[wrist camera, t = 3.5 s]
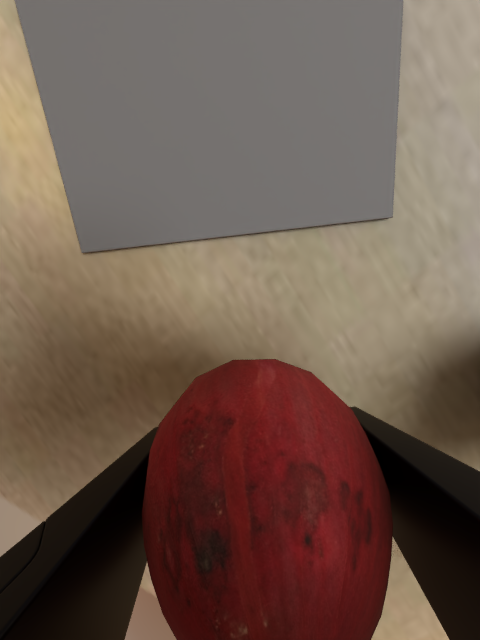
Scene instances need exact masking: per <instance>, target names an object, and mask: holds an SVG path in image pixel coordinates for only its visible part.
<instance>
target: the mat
mask: <svg viewBox="0 0 480 640" xmlns="http://www.w3.org/2000/svg"><path fill="white" fill-rule="evenodd" d="M15 3H16V7H17V11H18V14H19V18H20V22H21V26H22V29H23V33H24V37H25V41H26V44H27V48H28V52H29V56H30V59H31V63H32V67H33V71H34V74H35V78H36V82H37V86H38V89H39V93H40V97H41V101H42V105H43V108H44V112H45V116H46V120H47V123H48V127H49V131H50V135H51V138H52V142H53V146H54V150H55V153H56V157H57V161H58V165H59V168H60V172H61V176H62V180H63V183H64V187H65V191H66V195H67V198H68V202H69V206H70V210H71V213H72V217H73V221H74V225H75V229H76V232H77V236H78V240H79V244H80V247H81V251H82V253H90V252H99V251H107V250H116V249H125V248H134V247H142V246H151V245H160V244H169V243H177V242H186V241H195V240H204V239H212V238H221V237H230V236H239V235H247V234H256V233H265V232H274V231H282V230H291V229H300V228H309V227H317V226H326V225H335V224H344V223H352V222H361V221H370V220H379V219H387V218H391V217H393V200H394V180H395V159H396V139H397V118H398V98H399V77H400V57H401V36H402V16H403V0H15Z"/></svg>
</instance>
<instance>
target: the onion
mask: <svg viewBox="0 0 480 640" xmlns="http://www.w3.org/2000/svg"><path fill="white" fill-rule="evenodd" d="M142 525H143V539H144V548H145V553H146V557H147V562H148V567H149V572H150V576H151V580H152V583H153V586H154V589H155V592H156V595H157V598H158V601H159V604H160V607H161V610H162V613H163V615H164V617H165V619H166V621H167V623H168V624H169V626H170V628H171V630H172V632H173V634H174V636H175V637H176V639H177V640H371V638H372V636H373V634H374V631H375V629H376V627H377V624H378V622H379V620H380V618H381V615H382V610H383V605H384V600H385V595H386V591H387V586H388V578H389V570H390V562H391V551H392V534H393V520H392V511H391V502H390V493H389V490H388V487H387V484H386V481H385V478H384V475H383V473H382V470H381V467H380V464H379V462H378V459H377V457H376V455H375V453H374V451H373V449H372V446H371V444H370V442H369V440H368V438H367V435H366V433H365V432H364V430H363V428H362V426H361V425H360V423H359V421H358V419H357V418H356V416H355V414H354V412H353V411H352V409H351V408H350V407H349V406H347V405H346V404H345V403H344V402H343V401H342V400H341V399H340V398H339V397H338V396H337V395H336V394H334V393H333V392H332V391H331V390H330V389H329V388H328V387H327V386H326V385H325V384H324V383H322V382H321V381H320V380H319V379H318V378H317V377H316V376H315V375H314V374H312V373H311V372H309V371H306V370H303V369H301V368H298V367H295V366H292V365H290V364H287V363H284V362H281V361H279V360H276V359H259V360H232V361H230V362H228V363H226V364H223V365H221V366H219V367H217V368H215V369H213V370H211V371H209V372H207V373H204V374H202V375H200V376H198V377H196V378H195V379H194V381H193V382H192V383H191V384H190V386H189V387H188V388H187V389H186V391H185V392H184V393H183V395H182V396H181V397H180V398H179V400H178V401H177V402H176V403H175V405H174V406H173V407H172V409H171V410H170V411H169V412H168V414H167V415H166V416H165V417H164V419H163V420H162V421H161V423H160V424H159V427H158V429H157V432H156V435H155V438H154V441H153V443H152V446H151V449H150V454H149V461H148V469H147V476H146V483H145V491H144V499H143V508H142Z"/></svg>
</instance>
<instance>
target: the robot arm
mask: <svg viewBox="0 0 480 640" xmlns="http://www.w3.org/2000/svg"><path fill="white" fill-rule="evenodd" d="M350 408H351V409H352V411H353V412H354V414H355V416H356V418H357V419H358V421H359V423H360V425H361V426H362V428H363V430H364V432H365V433H366V435H367V438H368V440H369V442H370V444H371V446H372V449H373V451H374V453H375V455H376V457H377V459H378V462H379V464H380V467H381V470H382V473H383V475H384V478H385V481H386V484H387V487H388V490H389V493H390V502H391V511H392V520H393V534H392V536H393V538H394V540H395V541H396V543H397V545H398V547H399V549H400V550H401V552H402V554H403V556H404V558H405V560H406V561H407V563H408V565H409V567H410V569H411V570H412V572H413V574H414V576H415V578H416V580H417V581H418V583H419V585H420V587H421V589H422V590H423V592H424V594H425V596H426V598H427V600H428V601H429V603H430V605H431V607H432V609H433V610H434V612H435V614H436V616H437V618H438V620H439V621H440V623H441V625H442V627H443V629H444V630H445V632H446V634H447V636H448V638H449V639H450V640H480V471H478V470H476V469H474V468H472V467H470V466H468V465H466V464H464V463H462V462H460V461H459V460H457V459H455V458H453V457H451V456H449V455H447V454H445V453H443V452H441V451H439V450H437V449H435V448H434V447H432V446H430V445H428V444H426V443H424V442H422V441H420V440H418V439H416V438H414V437H412V436H411V435H409V434H407V433H405V432H403V431H401V430H399V429H397V428H395V427H393V426H391V425H389V424H388V423H386V422H384V421H382V420H380V419H378V418H376V417H374V416H372V415H370V414H368V413H366V412H364V411H363V410H361V409H359V408H357V407H350ZM157 429H158V427H155V428H154V429H153V430H151V431H150V432H149V433H148V434H147V435H146V436H144V437H143V438H142V439H141V440H140V441H138V442H137V443H136V444H135V445H134V446H132V447H131V448H130V449H129V450H128V451H127V452H125V453H124V454H123V455H122V456H121V457H119V458H118V459H117V460H116V461H115V462H113V463H112V464H111V465H110V466H109V467H107V468H106V469H105V470H104V471H103V472H102V473H100V474H99V475H98V476H97V477H96V478H94V479H93V480H92V481H91V482H90V483H88V484H87V485H86V486H85V487H84V488H83V489H81V490H80V491H79V492H78V493H77V494H75V495H74V496H73V497H72V498H71V499H69V500H68V501H67V502H66V503H65V504H63V505H62V506H61V507H60V508H59V509H58V510H56V511H55V512H54V513H53V514H52V515H50V516H49V517H48V518H47V519H46V522H45V521H44V522H42V523H41V524H40V525H39V526H37V527H36V528H35V529H34V530H32V531H31V532H30V533H29V534H28V535H27V536H25V537H24V538H23V539H22V540H21V541H19V542H18V543H17V544H16V545H14V546H13V547H12V548H11V549H10V550H8V551H7V552H6V553H5V554H3V555H2V556H1V557H0V640H124V639H125V636H126V632H127V629H128V625H129V622H130V618H131V615H132V611H133V608H134V605H135V601H136V597H137V594H138V591H139V587H140V584H141V580H142V577H143V573H144V570H145V566H146V563H147V557H146V553H145V548H144V539H143V525H142V508H143V499H144V491H145V483H146V476H147V469H148V461H149V454H150V449H151V446H152V443H153V441H154V438H155V435H156V432H157Z"/></svg>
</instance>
